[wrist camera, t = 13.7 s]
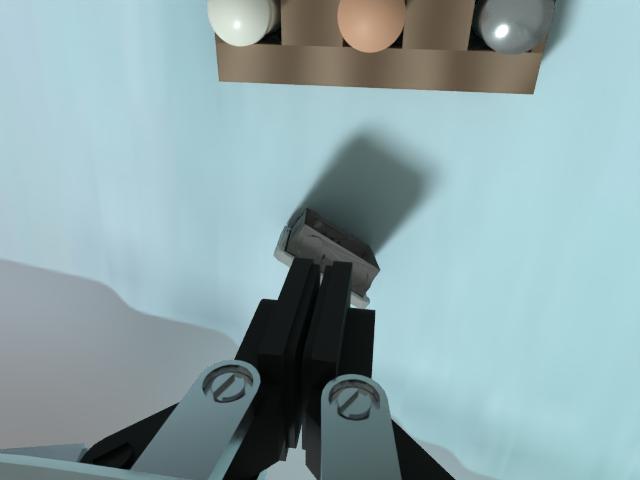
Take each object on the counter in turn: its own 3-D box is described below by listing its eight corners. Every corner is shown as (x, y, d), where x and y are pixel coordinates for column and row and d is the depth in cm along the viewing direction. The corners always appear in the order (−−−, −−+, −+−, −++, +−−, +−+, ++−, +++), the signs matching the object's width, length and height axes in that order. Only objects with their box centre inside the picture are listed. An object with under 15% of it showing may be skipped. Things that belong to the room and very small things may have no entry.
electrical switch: (281, 230, 45) (262, 272, 37) (306, 190, 43) (292, 224, 35) (356, 275, 47) (354, 326, 38) (385, 238, 45) (389, 283, 36)
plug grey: (530, -16, 32) (562, -21, 26) (517, 46, 34) (544, 55, 28) (471, -17, 33) (489, -22, 26) (461, 45, 35) (476, 53, 28)
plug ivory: (289, -19, 34) (266, -24, 28) (290, 40, 36) (269, 47, 30) (237, -20, 35) (204, -25, 29) (241, 38, 37) (210, 45, 31)
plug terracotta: (406, -18, 32) (409, -24, 26) (400, 44, 34) (402, 53, 28) (349, -19, 32) (338, -25, 26) (346, 43, 34) (336, 51, 28)
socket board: (552, -63, 31) (572, -72, 27) (519, 85, 36) (533, 94, 32) (224, -63, 34) (205, -71, 30) (234, 74, 38) (219, 81, 35)
